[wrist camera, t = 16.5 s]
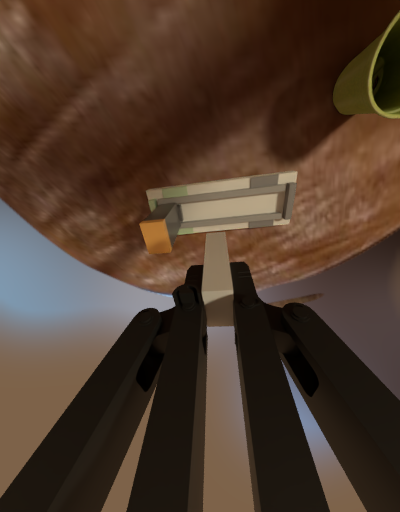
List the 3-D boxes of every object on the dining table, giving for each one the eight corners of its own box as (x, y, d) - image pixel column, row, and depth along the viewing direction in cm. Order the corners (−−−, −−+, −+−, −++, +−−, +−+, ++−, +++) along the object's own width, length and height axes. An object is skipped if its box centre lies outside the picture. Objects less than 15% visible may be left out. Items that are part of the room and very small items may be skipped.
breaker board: (160, 232, 36) (156, 239, 33) (149, 188, 31) (142, 192, 28) (284, 220, 33) (292, 226, 30) (292, 170, 29) (301, 172, 26)
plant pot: (412, 23, 20) (531, -54, 12) (380, 122, 25) (453, 107, 17) (328, 44, 21) (392, -15, 14) (314, 134, 26) (355, 126, 18)
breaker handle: (164, 225, 33) (146, 254, 23) (159, 202, 30) (135, 224, 21) (184, 223, 32) (173, 252, 23) (180, 200, 30) (166, 221, 20)
